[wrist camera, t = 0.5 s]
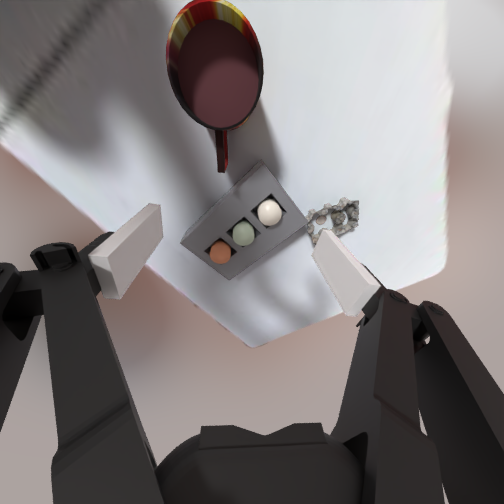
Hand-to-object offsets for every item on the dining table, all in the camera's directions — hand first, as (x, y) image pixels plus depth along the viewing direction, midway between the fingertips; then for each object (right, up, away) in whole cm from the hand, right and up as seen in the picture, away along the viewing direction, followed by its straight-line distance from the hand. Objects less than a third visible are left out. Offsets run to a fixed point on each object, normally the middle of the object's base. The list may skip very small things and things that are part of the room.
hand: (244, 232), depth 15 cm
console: (-1, +5, +25) cm, 26 cm away
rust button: (-6, -1, +25) cm, 26 cm away
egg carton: (+18, +7, +26) cm, 32 cm away
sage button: (-1, +3, +23) cm, 23 cm away
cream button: (+4, +7, +21) cm, 22 cm away
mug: (-3, +22, +15) cm, 26 cm away
